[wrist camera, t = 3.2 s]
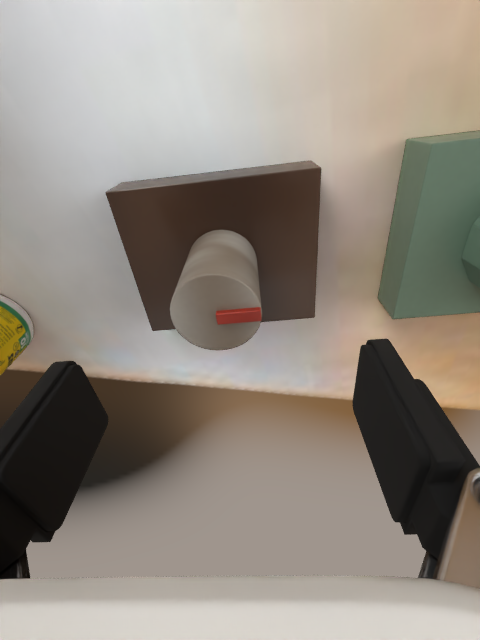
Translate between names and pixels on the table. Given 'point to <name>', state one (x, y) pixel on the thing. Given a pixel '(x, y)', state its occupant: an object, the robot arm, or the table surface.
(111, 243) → the table surface
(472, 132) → the green push button panel
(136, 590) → the robot arm
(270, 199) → the dial panel
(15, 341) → the supplement bottle
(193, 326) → the dial
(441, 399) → the table surface
